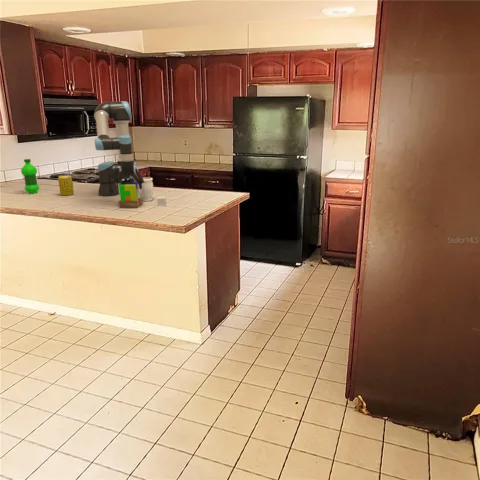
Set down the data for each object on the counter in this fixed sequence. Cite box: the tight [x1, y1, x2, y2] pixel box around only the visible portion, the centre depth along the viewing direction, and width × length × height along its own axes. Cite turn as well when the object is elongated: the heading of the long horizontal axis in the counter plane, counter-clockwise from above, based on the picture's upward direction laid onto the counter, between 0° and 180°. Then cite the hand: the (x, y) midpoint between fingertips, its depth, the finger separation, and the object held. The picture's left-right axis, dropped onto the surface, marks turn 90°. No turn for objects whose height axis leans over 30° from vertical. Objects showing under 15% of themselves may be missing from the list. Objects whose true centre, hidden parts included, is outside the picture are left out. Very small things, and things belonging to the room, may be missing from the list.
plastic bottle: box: [20, 158, 40, 195], centre depth 314 cm, size 10×10×25 cm
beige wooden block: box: [156, 196, 167, 207], centre depth 278 cm, size 5×5×5 cm
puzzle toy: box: [119, 181, 140, 201], centre depth 274 cm, size 10×10×10 cm
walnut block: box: [118, 197, 144, 209], centre depth 276 cm, size 12×12×5 cm
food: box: [57, 174, 75, 196], centre depth 308 cm, size 15×12×10 cm
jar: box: [138, 176, 154, 202], centre depth 290 cm, size 11×10×15 cm
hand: (130, 193), depth 274 cm, fingers open, 13 cm apart
